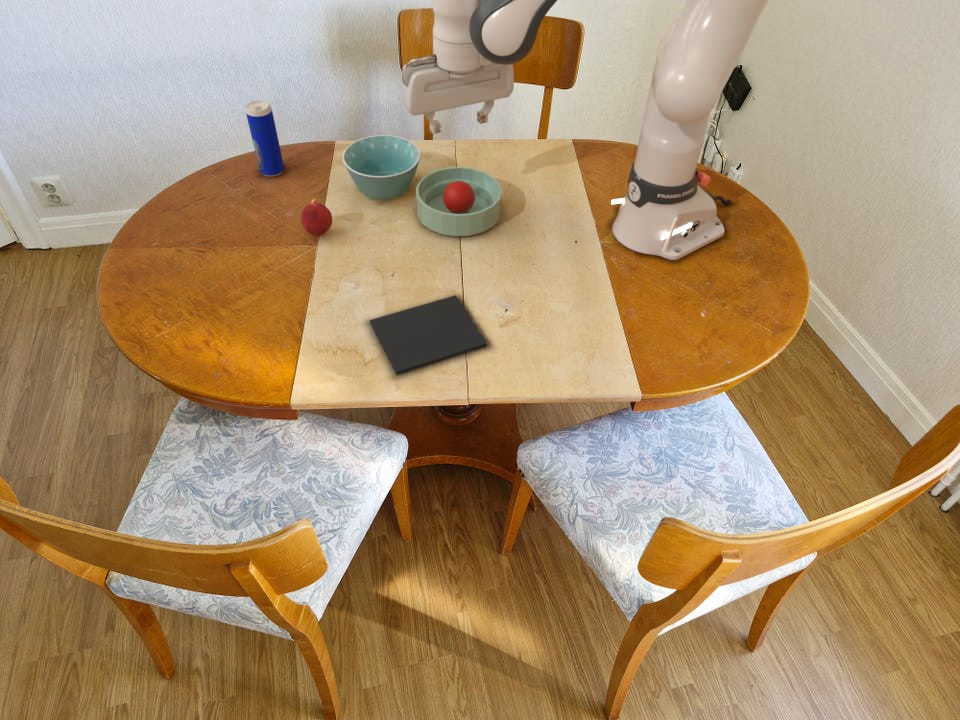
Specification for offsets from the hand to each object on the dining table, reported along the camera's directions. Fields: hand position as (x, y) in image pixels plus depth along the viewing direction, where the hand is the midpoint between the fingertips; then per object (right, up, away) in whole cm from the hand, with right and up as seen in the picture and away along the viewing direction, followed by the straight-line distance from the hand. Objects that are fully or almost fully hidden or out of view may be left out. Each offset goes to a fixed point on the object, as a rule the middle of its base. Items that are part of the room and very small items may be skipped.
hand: (459, 126), depth 127 cm
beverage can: (-41, -2, +23) cm, 47 cm away
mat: (-5, -39, -10) cm, 40 cm away
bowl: (-16, -7, +19) cm, 26 cm away
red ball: (0, -13, +13) cm, 18 cm away
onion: (-27, -19, +8) cm, 34 cm away
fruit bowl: (0, -13, +14) cm, 19 cm away
